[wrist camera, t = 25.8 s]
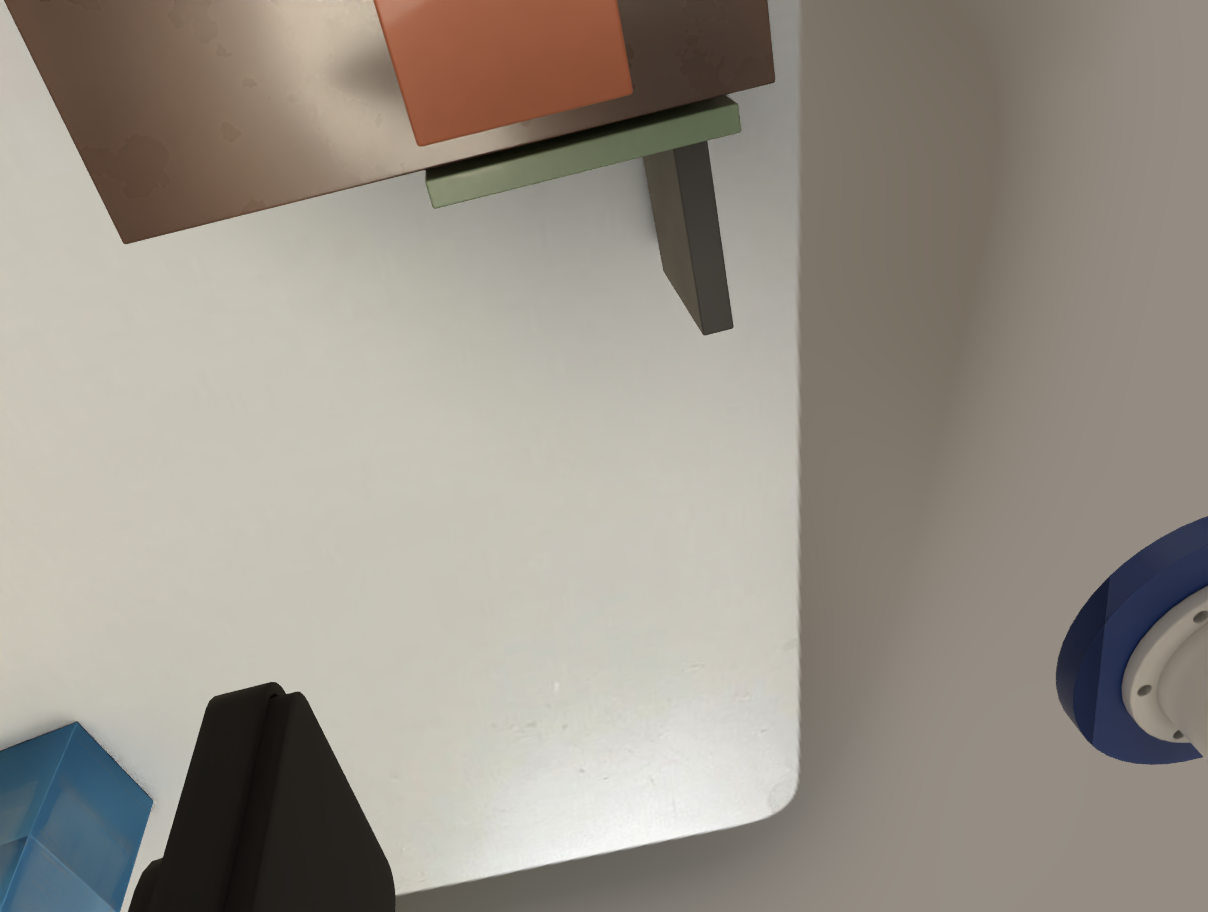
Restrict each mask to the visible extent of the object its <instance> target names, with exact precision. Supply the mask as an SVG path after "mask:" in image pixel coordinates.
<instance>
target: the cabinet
mask: <svg viewBox="0 0 1208 912" xmlns="http://www.w3.org/2000/svg"><path fill="white" fill-rule="evenodd" d="M4 1H5V3H6V5H7V7H8V9H9V11H10V13H11V15H12V18H13V20H14V22H15V24H16V26H17V28H18V30H19V32H20V34H21V36H22V38H23V40H24V42H25V44H26V46H27V48H28V50H29V52H30V54H31V56H32V58H33V60H34V62H35V64H36V66H37V68H38V70H39V72H40V74H41V77H42V79H43V81H44V83H45V85H46V87H47V89H48V91H49V93H50V95H51V97H52V99H53V101H54V103H55V105H56V107H57V109H58V111H59V113H60V115H61V117H62V119H63V121H64V123H65V125H66V127H67V129H68V131H69V133H70V136H71V138H72V140H73V142H74V144H75V146H76V148H77V150H78V152H79V154H80V156H81V158H82V160H83V162H84V164H85V166H86V168H87V170H88V172H89V174H90V176H91V178H92V180H93V182H94V184H95V186H96V188H97V190H98V193H99V195H100V197H101V199H102V201H103V203H104V205H105V207H106V209H107V211H108V213H109V215H110V217H111V219H112V221H113V223H114V225H115V227H116V229H117V231H118V233H119V235H120V237H121V239H122V241H123V243H124V244H129V243H133V242H137V241H141V240H145V239H149V238H153V237H157V236H161V235H165V234H169V233H173V232H177V231H181V230H185V229H189V228H193V227H197V226H201V225H205V224H209V223H213V222H217V221H221V220H225V219H229V218H233V217H237V216H241V215H245V214H249V213H253V212H257V211H261V210H265V209H269V208H273V207H277V206H281V205H285V204H289V203H293V202H297V201H301V200H305V199H309V198H313V197H317V196H321V195H325V194H329V193H333V192H338V191H342V190H346V189H350V188H354V187H358V186H362V185H366V184H370V183H374V182H378V181H382V180H386V179H390V178H394V177H398V176H402V175H406V174H410V173H414V172H418V171H422V170H426V169H430V168H434V167H438V166H442V165H446V164H450V163H454V162H458V161H462V160H466V159H470V158H474V157H478V156H482V155H486V154H490V153H494V152H498V151H502V150H506V149H510V148H514V147H518V146H522V145H526V144H530V143H534V142H538V141H542V140H546V139H550V138H554V137H558V136H562V135H566V134H570V133H574V132H578V131H582V130H586V129H590V128H594V127H598V126H602V125H606V124H610V123H614V122H618V121H622V120H626V119H630V118H634V117H638V116H642V115H646V114H650V113H654V112H658V111H662V110H666V109H671V108H675V107H679V106H683V105H687V104H691V103H695V102H699V101H703V100H707V99H711V98H715V97H719V96H723V95H727V94H731V93H735V92H739V91H743V90H747V89H751V88H755V87H759V86H763V85H767V84H771V83H774V82H775V72H774V62H773V52H772V42H771V32H770V22H769V13H768V3H767V0H617V4H618V9H619V15H620V20H621V26H622V32H623V37H624V43H625V49H626V54H627V60H628V65H629V71H630V77H631V82H632V88H633V92H632V94H631V95H628V96H624V97H620V98H616V99H612V100H608V101H604V102H600V103H596V104H592V105H588V106H584V107H580V108H576V109H572V110H568V111H564V112H560V113H556V114H551V115H547V116H543V117H539V118H535V119H531V120H527V121H523V122H519V123H515V124H511V125H507V126H503V127H499V128H495V129H491V130H487V131H483V132H479V133H475V134H471V135H467V136H463V137H459V138H455V139H451V140H447V141H443V142H439V143H435V144H431V145H427V146H423V147H420V146H418V145H417V143H416V140H415V137H414V134H413V130H412V127H411V124H410V120H409V117H408V114H407V110H406V107H405V104H404V100H403V97H402V94H401V91H400V87H399V84H398V81H397V77H396V74H395V71H394V67H393V64H392V61H391V57H390V54H389V51H388V48H387V44H386V41H385V38H384V34H383V31H382V28H381V24H380V21H379V18H378V14H377V11H376V8H375V5H374V1H373V0H4Z"/></svg>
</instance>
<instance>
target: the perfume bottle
mask: <svg viewBox="0 0 1208 912" xmlns="http://www.w3.org/2000/svg"><path fill="white" fill-rule="evenodd" d="M152 804H153V801H152V800H151V799H150V798H149V796H148V795H147V794H146V793H145V792H144V791H143V790H142V789H141V788H140V787H139V786H138V785H137V784H136V783H135V782H134V781H133V780H132V779H131V778H130V777H129V776H128V775H127V774H126V773H125V772H124V771H123V769H122V768H121V767H120V766H119V765H118V764H117V763H116V762H115V761H114V760H113V759H112V758H111V757H110V756H109V755H108V754H107V753H106V752H105V751H104V750H103V749H102V748H101V747H100V746H99V745H98V744H97V742H96V741H95V740H94V739H93V738H92V737H91V736H90V735H89V734H88V733H87V732H86V731H85V730H84V729H83V728H82V727H81V726H80V725H79V724H78V723H77V722H76V723H73V724H71V725H68V726H65V727H63V728H60V729H58V730H55V731H52V732H50V733H47V734H44V735H42V736H39V737H37V738H34V739H31V740H29V741H26V742H24V743H21V744H18V745H16V746H13V747H11V748H8V749H5V750H3V751H0V912H120V910H121V907H122V903H123V900H124V897H125V893H126V890H127V887H128V883H129V880H130V877H131V874H132V870H133V867H134V864H135V860H136V857H137V854H138V850H139V847H140V844H141V841H142V837H143V834H144V831H145V827H146V824H147V821H148V817H149V814H150V811H151V807H152Z"/></svg>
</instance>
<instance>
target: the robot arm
mask: <svg viewBox="0 0 1208 912" xmlns="http://www.w3.org/2000/svg"><path fill="white" fill-rule="evenodd" d="M1121 687H1122V700H1123V703H1124V705H1125V707H1126V710H1127V712H1128V713H1129V714H1130V715H1131V717H1132V718H1133V719H1134V720H1135V722H1136V723H1137V724H1138V725H1139V727H1141V728H1142V729H1143V730H1144V731H1145V732H1147V733H1148V734H1149V735H1151V736H1154V737H1156V738H1158V739H1160V740H1165V741H1169V742H1176V743H1191V744H1192V745H1193V746H1194V747H1195V748H1196V749H1197V750H1198V751H1199V753H1200V754H1201V755H1202V756H1203V757H1204V758H1205V759H1206V760H1207V761H1208V585H1207V586H1206V587H1204V588H1202V589H1200V590H1198V591H1197V592H1195V593H1193V594H1191V595H1189V596H1188V597H1186V598H1185V599H1184V600H1182V601H1181V602H1180V603H1178V604H1177V605H1175V606H1174V607H1173V608H1171V609H1170V610H1169V611H1168V612H1167V613H1165V614H1164V615H1163V616H1162V617H1161V618H1160V619H1159V620H1158V621H1157V622H1156V623H1155V624H1154V625H1153V626H1152V627H1151V628H1150V629H1149V631H1148V632H1147V633H1146V634H1145V635H1144V636H1143V638H1142V639H1141V640H1140V642H1139V643H1138V645H1137V646H1136V648H1135V650H1134V651H1133V653H1132V654H1131V656H1130V659H1129V661H1128V664H1127V666H1126V669H1125V671H1124V676H1123V681H1122V686H1121ZM128 912H395V887H394V881H393V876H392V872H391V868H390V866H389V863H388V861H387V859H386V857H385V855H384V853H383V851H382V849H381V847H380V845H379V843H378V841H377V839H376V837H375V835H374V833H373V831H372V829H371V827H370V825H369V823H368V821H367V819H366V817H365V815H364V813H363V811H362V809H361V807H360V805H359V803H358V801H357V799H356V797H355V795H354V793H353V791H352V789H351V787H350V785H349V783H348V781H347V779H346V777H345V775H344V773H343V771H342V769H341V767H340V765H339V763H338V761H337V759H336V757H335V755H334V753H333V751H332V749H331V747H330V745H329V743H328V741H327V739H326V737H325V735H324V733H323V731H322V729H321V727H320V725H319V723H318V721H317V719H316V717H315V715H314V713H313V711H312V709H311V707H310V705H309V703H308V701H307V700H306V698H305V696H304V695H303V694H302V693H301V692H294V693H290V694H286V693H285V691H284V690H283V688H282V687H281V686H280V685H279V684H277V683H276V682H270V683H266V684H262V685H258V686H254V687H250V688H246V689H242V690H238V691H234V692H230V693H226V694H222V695H218V696H215V697H213V698H212V699H211V700H210V701H209V703H208V706H207V708H206V711H205V714H204V717H203V721H202V724H201V728H200V731H199V735H198V738H197V742H196V745H195V749H194V752H193V755H192V759H191V762H190V766H189V769H188V773H187V776H186V780H185V783H184V787H183V790H182V793H181V797H180V800H179V804H178V807H177V811H176V814H175V818H174V821H173V825H172V828H171V832H170V835H169V838H168V842H167V845H166V849H165V852H164V856H163V858H160V859H158V860H155V861H152V862H151V863H150V864H149V866H148V867H147V868H146V869H145V870H144V871H143V872H142V875H141V877H140V879H139V882H138V884H137V886H136V888H135V891H134V894H133V897H132V901H131V904H130V907H129V910H128Z"/></svg>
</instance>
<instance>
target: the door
mask: <svg viewBox="0 0 1208 912" xmlns="http://www.w3.org/2000/svg"><path fill="white" fill-rule="evenodd" d="M739 132H741V125H740V117H739V109H738V104H737V103H736V102H735V101H733V100H732V99H730V98H729V97H727V96H726V95H723V96H719V97H715V98H711V99H707V100H703V101H699V102H695V103H691V104H687V105H683V106H679V107H675V108H671V109H666V110H662V111H658V112H654V113H650V114H646V115H642V116H638V117H634V118H630V119H626V120H622V121H618V122H614V123H610V124H606V125H602V126H598V127H594V128H590V129H586V130H582V131H578V132H574V133H570V134H566V135H562V136H558V137H554V138H550V139H546V140H542V141H538V142H534V143H530V144H526V145H522V146H518V147H514V148H510V149H506V150H502V151H498V152H494V153H490V154H486V155H482V156H478V157H474V158H470V159H466V160H462V161H458V162H454V163H450V164H446V165H442V166H438V167H434V168H430V169H426V177H425V183H426V186H427V189H428V193H429V196H430V199H431V203H432V206H433V208H435V209H436V208H440V207H444V206H448V205H452V204H456V203H460V202H464V201H468V200H472V199H476V198H480V197H484V196H488V195H492V194H496V193H500V192H504V191H508V190H512V189H516V188H520V187H524V186H528V185H532V184H536V183H540V182H544V181H548V180H552V179H556V178H560V177H564V176H568V175H572V174H576V173H579V172H583V171H587V170H591V169H595V168H599V167H603V166H607V165H611V164H615V163H619V162H623V161H627V160H631V159H635V158H639V157H643V159H644V165H645V171H646V176H647V182H648V187H649V193H650V199H651V204H652V210H653V215H654V221H655V227H656V232H657V238H658V243H659V249H660V255H661V260H662V266H663V271H664V273H665V274H666V276H667V278H668V279H669V281H670V282H671V284H672V286H673V287H674V289H675V290H676V292H677V294H678V295H679V297H680V298H681V300H682V302H683V303H684V305H685V306H686V308H687V310H688V311H689V313H690V314H691V316H692V318H693V319H694V321H695V323H696V324H697V326H698V327H699V329H700V331H701V332H702V334H703V335H709V334H713V333H716V332H720V331H724V330H728V329H732V328H733V320H732V313H731V306H730V299H729V292H728V285H727V278H726V271H725V264H724V257H723V250H722V242H721V235H720V228H719V221H718V214H717V207H716V200H715V193H714V186H713V179H712V172H711V165H710V158H709V151H708V144H707V140H711V139H715V138H719V137H723V136H727V135H731V134H735V133H739Z"/></svg>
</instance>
